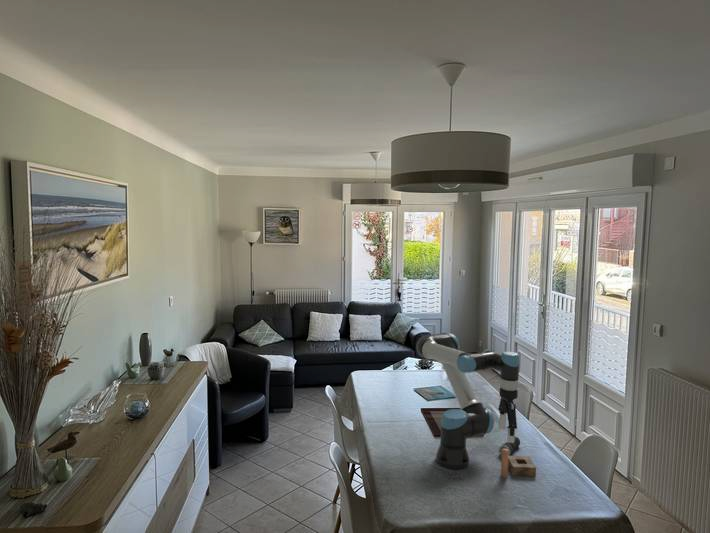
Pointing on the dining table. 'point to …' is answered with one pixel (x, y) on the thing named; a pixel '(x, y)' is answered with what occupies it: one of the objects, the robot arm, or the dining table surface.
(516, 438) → the flashlight
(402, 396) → the dining table surface
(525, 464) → the socket block
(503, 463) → the peg
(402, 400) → the dining table surface
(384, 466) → the dining table surface
